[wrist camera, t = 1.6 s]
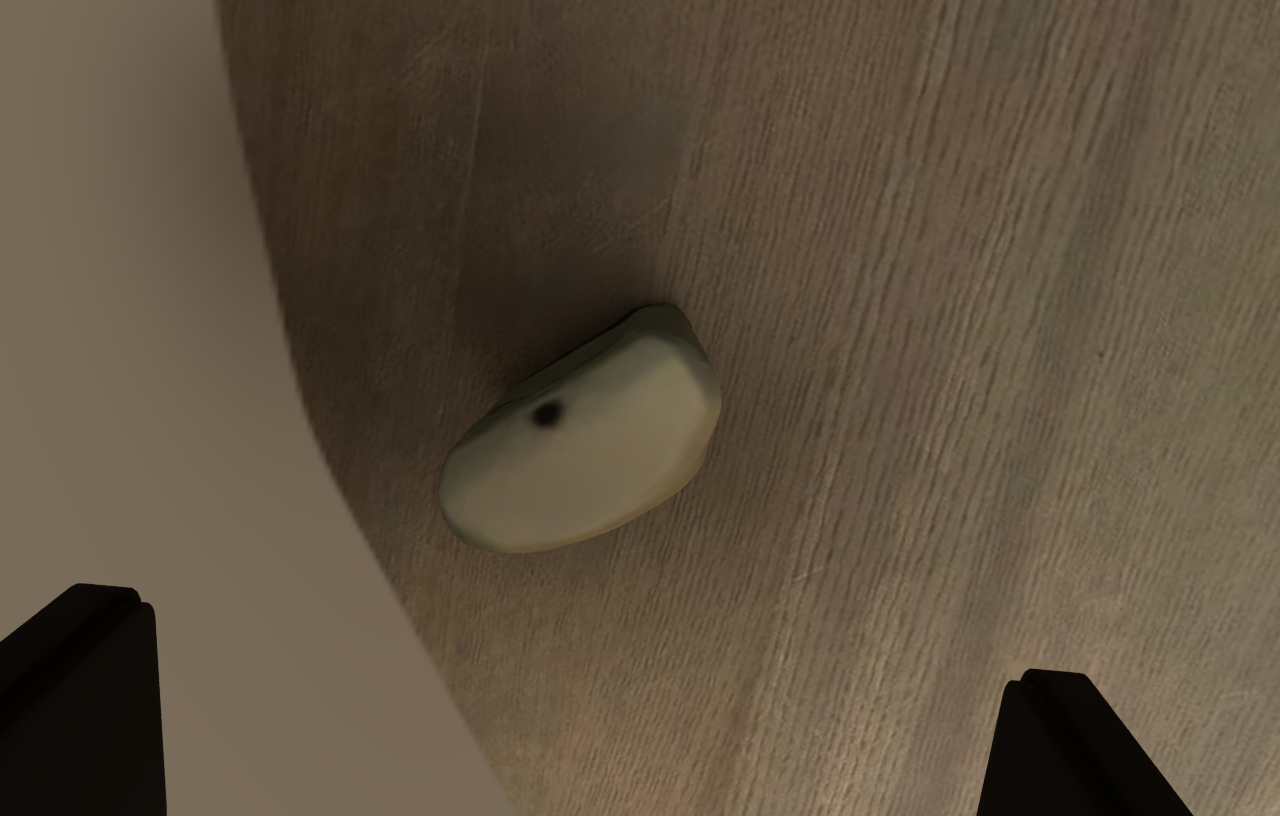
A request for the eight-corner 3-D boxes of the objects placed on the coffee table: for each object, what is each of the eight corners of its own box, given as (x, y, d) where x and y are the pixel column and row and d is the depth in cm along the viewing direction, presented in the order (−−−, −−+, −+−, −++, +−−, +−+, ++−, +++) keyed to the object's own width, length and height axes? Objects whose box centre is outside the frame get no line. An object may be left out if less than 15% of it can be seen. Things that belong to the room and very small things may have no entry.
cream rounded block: (563, 222, 24) (521, 275, 17) (751, 309, 25) (793, 398, 17) (477, 421, 26) (403, 552, 18) (655, 498, 26) (655, 657, 19)
